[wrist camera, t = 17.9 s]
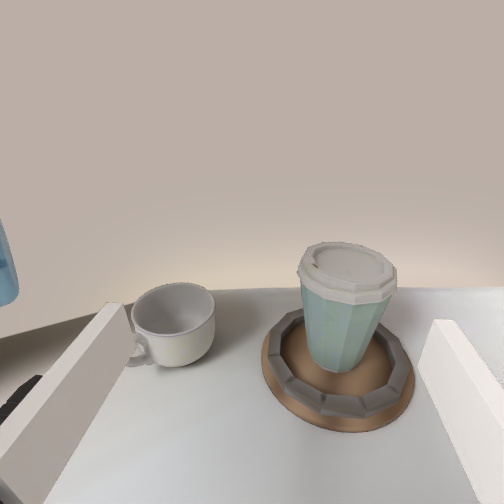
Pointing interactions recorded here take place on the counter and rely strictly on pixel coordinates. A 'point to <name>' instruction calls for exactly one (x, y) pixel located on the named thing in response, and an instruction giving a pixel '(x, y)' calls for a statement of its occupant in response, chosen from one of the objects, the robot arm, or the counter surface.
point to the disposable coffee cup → (343, 301)
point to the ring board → (337, 380)
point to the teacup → (173, 325)
